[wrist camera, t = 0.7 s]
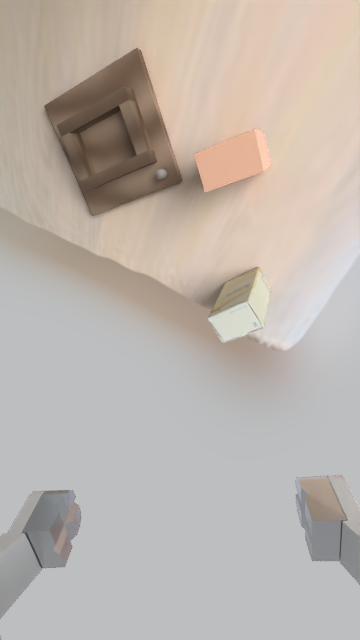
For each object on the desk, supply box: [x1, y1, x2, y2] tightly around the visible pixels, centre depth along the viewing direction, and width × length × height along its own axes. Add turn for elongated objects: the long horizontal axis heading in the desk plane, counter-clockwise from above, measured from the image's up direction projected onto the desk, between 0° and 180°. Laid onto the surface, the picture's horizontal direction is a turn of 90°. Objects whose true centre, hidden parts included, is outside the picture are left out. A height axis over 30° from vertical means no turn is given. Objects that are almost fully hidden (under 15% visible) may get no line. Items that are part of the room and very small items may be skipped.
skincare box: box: [208, 267, 271, 343], centre depth 45 cm, size 6×4×12 cm
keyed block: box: [194, 129, 271, 192], centre depth 38 cm, size 4×6×11 cm, turn 110°
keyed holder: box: [45, 48, 182, 216], centre depth 45 cm, size 16×16×4 cm
